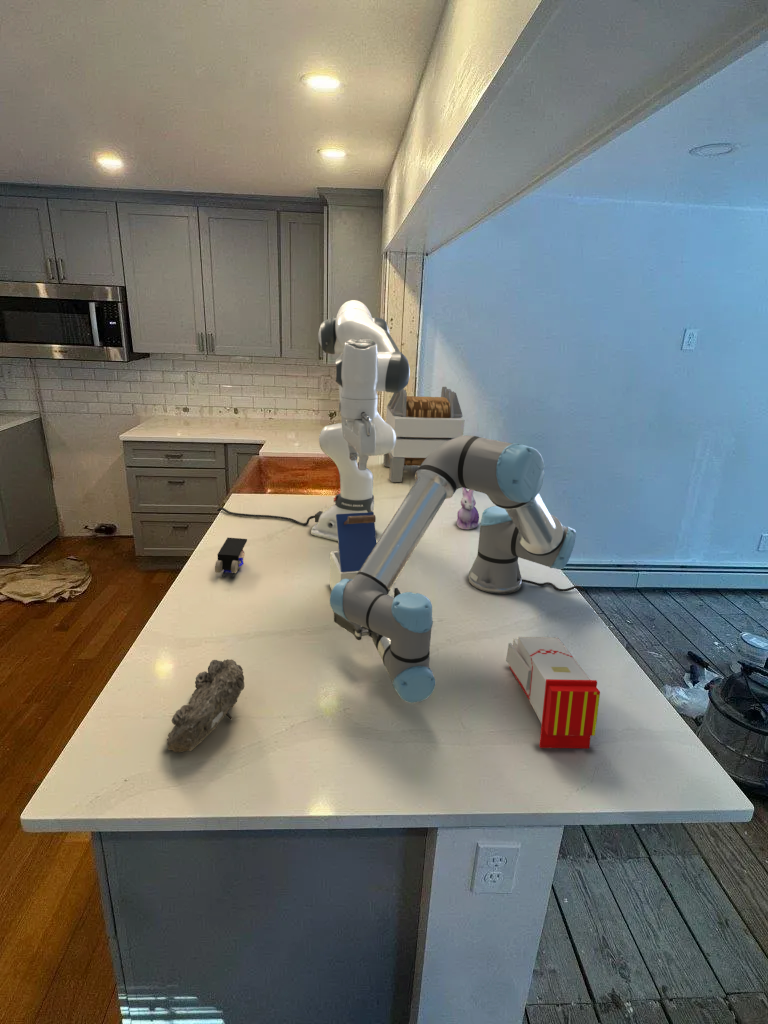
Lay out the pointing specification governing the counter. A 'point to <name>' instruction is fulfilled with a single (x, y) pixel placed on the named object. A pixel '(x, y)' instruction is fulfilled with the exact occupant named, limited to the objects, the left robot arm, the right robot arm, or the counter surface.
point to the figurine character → (230, 556)
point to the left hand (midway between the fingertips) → (357, 464)
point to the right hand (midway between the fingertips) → (368, 595)
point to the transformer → (420, 427)
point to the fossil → (206, 705)
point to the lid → (355, 539)
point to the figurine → (467, 511)
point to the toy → (555, 691)
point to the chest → (338, 570)
